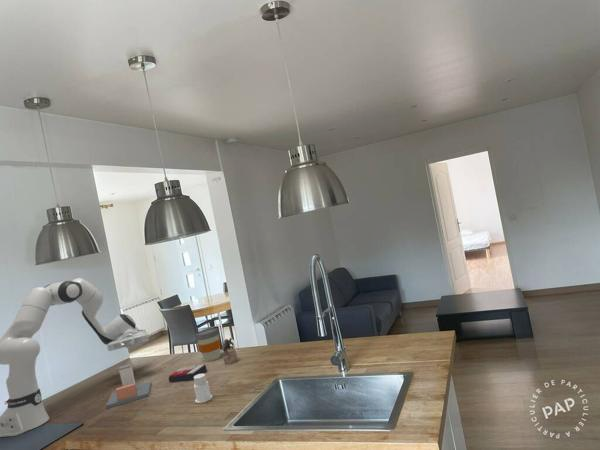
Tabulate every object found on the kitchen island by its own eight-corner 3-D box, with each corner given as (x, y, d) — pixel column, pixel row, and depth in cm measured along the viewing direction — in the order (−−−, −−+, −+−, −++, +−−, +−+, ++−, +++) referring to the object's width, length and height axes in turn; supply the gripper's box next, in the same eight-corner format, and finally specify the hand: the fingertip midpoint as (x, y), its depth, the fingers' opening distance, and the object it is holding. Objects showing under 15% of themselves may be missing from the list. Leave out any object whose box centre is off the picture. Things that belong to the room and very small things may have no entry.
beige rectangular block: (123, 393, 206) (118, 369, 206) (125, 390, 210) (119, 366, 210) (135, 390, 208) (130, 365, 207) (136, 387, 212) (131, 363, 212)
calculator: (180, 367, 224) (205, 363, 219) (182, 375, 224) (207, 371, 219) (167, 376, 214) (193, 371, 209) (169, 384, 214) (195, 380, 208)
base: (106, 408, 195) (103, 394, 195) (113, 395, 213) (110, 382, 213) (148, 396, 200) (145, 382, 200) (151, 384, 217) (148, 371, 217)
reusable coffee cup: (213, 362, 231) (207, 334, 231) (196, 362, 238) (190, 335, 238) (228, 353, 242) (222, 327, 242) (212, 354, 249) (206, 328, 249)
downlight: (191, 401, 182) (187, 377, 181) (206, 393, 186) (202, 371, 186) (200, 405, 176) (196, 381, 175) (216, 398, 180) (211, 374, 180)
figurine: (226, 360, 229) (221, 338, 229) (239, 358, 229) (234, 335, 229) (223, 365, 222) (218, 342, 222) (236, 362, 222) (231, 339, 222)
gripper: (108, 338, 235) (103, 344, 222) (148, 328, 240) (145, 333, 227) (111, 350, 235) (106, 356, 222) (150, 339, 240) (148, 345, 227)
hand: (126, 345), depth 224 cm, fingers closed
